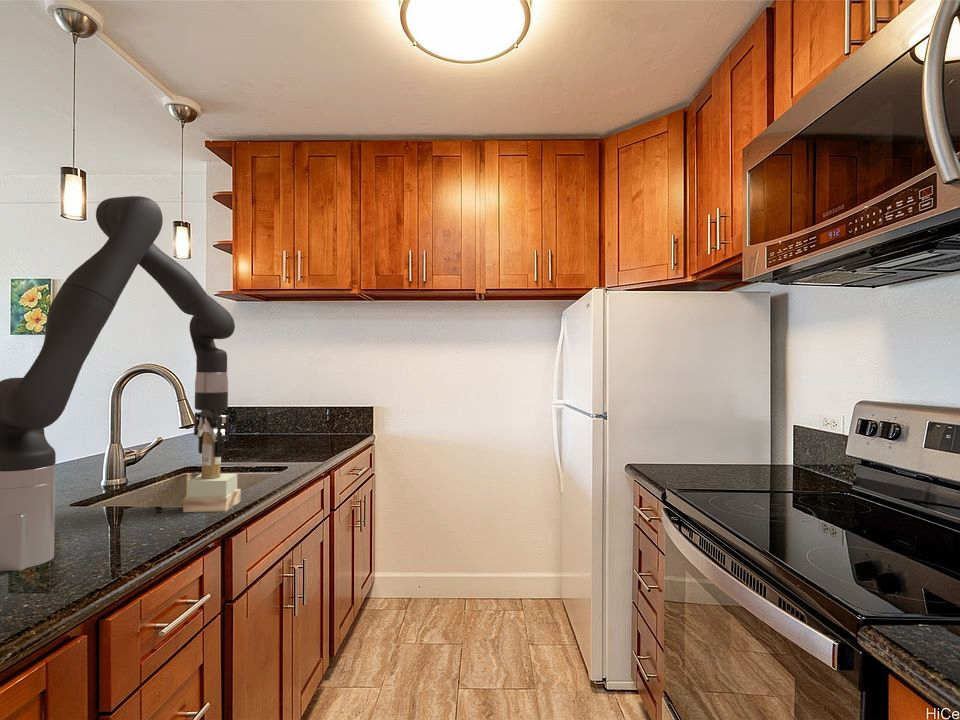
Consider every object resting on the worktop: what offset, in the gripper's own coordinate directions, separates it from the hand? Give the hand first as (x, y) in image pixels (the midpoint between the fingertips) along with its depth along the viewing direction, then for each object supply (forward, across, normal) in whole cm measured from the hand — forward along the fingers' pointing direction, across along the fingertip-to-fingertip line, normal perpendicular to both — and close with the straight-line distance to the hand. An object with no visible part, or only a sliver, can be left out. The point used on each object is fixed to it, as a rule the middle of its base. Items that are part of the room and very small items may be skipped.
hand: (210, 455), depth 139 cm
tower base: (+14, -1, 0) cm, 14 cm away
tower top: (+10, -1, 0) cm, 10 cm away
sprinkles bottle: (+6, 0, 0) cm, 6 cm away
